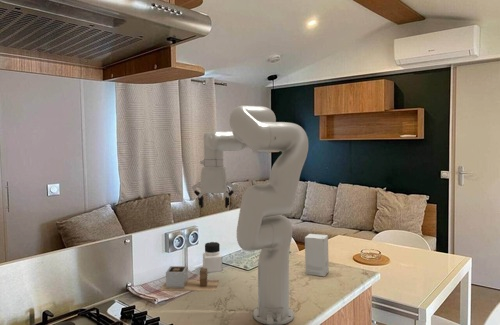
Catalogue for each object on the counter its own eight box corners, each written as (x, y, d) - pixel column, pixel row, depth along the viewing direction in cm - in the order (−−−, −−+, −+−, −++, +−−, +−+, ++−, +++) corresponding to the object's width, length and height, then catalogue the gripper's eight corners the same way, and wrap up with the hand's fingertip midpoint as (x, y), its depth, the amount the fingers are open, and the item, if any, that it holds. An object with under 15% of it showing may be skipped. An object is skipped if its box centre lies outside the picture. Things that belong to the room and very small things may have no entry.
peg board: (215, 293, 136) (215, 274, 136) (160, 293, 137) (159, 274, 136) (218, 282, 146) (218, 264, 146) (166, 282, 147) (166, 264, 146)
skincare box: (329, 272, 157) (329, 235, 156) (324, 277, 151) (324, 238, 150) (309, 269, 161) (309, 232, 160) (304, 274, 155) (304, 236, 154)
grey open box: (184, 288, 138) (184, 272, 138) (166, 288, 138) (165, 272, 138) (187, 281, 145) (187, 266, 144) (170, 281, 145) (170, 266, 144)
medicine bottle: (222, 273, 157) (222, 244, 156) (205, 274, 155) (204, 245, 154) (219, 267, 163) (219, 240, 163) (202, 269, 162) (202, 241, 161)
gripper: (189, 164, 145) (190, 209, 146) (235, 164, 144) (235, 209, 145) (193, 163, 152) (193, 205, 153) (236, 163, 152) (236, 205, 153)
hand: (214, 207), depth 149 cm, fingers open, 9 cm apart
